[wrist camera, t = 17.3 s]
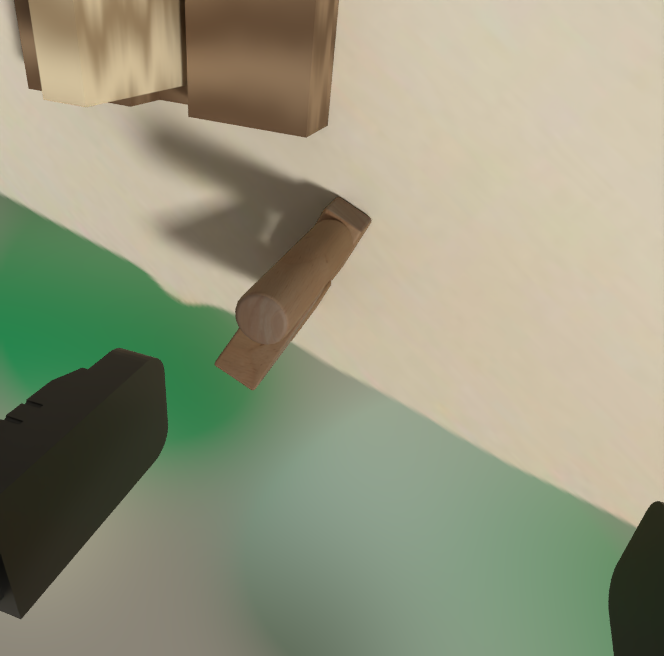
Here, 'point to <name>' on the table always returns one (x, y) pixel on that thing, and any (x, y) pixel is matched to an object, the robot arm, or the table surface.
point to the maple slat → (108, 48)
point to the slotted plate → (243, 63)
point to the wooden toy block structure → (290, 293)
